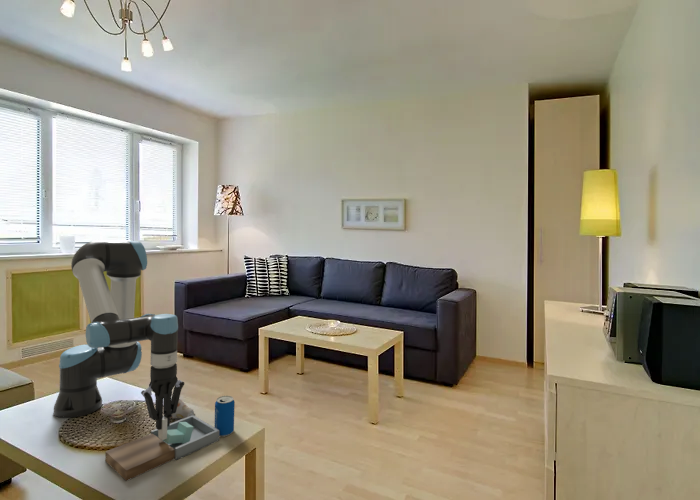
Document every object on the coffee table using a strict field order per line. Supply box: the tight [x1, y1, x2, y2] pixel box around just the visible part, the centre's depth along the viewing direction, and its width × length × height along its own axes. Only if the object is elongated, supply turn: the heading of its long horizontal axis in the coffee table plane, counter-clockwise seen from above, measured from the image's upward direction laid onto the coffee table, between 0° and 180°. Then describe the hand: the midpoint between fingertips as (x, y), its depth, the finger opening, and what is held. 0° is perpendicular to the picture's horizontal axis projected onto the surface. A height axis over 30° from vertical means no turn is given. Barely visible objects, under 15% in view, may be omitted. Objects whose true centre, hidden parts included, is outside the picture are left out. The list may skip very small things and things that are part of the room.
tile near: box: [163, 429, 185, 444], centre depth 128 cm, size 5×5×2 cm
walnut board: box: [104, 433, 175, 482], centre depth 120 cm, size 14×14×3 cm
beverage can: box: [213, 395, 236, 437], centre depth 137 cm, size 6×6×12 cm
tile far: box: [177, 422, 194, 443], centre depth 131 cm, size 5×5×2 cm
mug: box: [170, 398, 196, 419], centre depth 147 cm, size 8×10×10 cm
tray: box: [150, 415, 220, 461], centre depth 131 cm, size 16×15×4 cm
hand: (162, 437), depth 125 cm, fingers closed
